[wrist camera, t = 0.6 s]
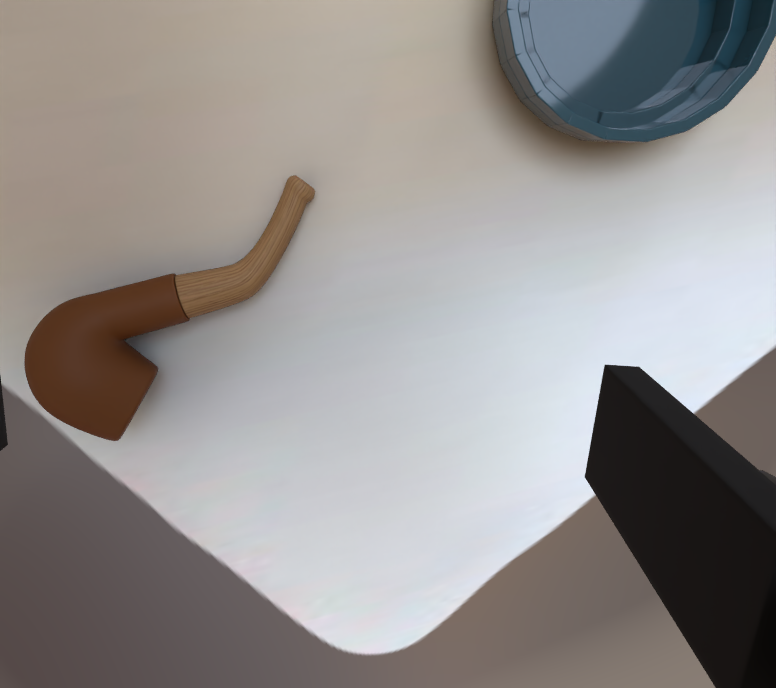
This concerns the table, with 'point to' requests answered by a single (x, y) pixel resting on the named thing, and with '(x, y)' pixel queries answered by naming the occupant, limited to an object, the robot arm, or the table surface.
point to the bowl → (630, 61)
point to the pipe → (139, 329)
